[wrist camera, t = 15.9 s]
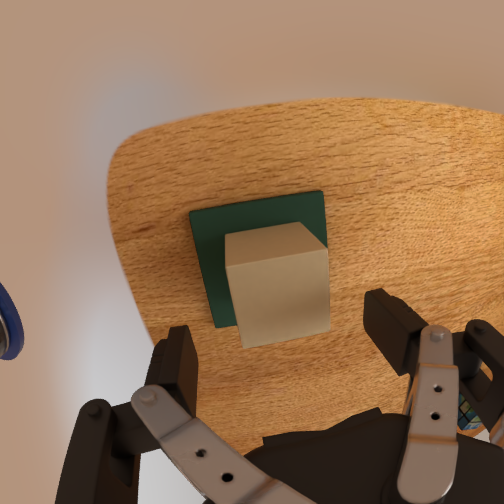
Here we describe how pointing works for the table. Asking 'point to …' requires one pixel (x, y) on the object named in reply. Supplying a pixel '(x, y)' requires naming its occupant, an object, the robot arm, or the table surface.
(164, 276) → the table surface
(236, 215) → the mat
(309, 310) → the block
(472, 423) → the puzzle
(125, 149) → the table surface
